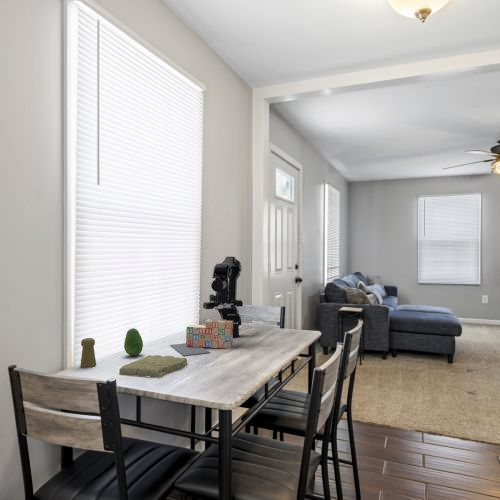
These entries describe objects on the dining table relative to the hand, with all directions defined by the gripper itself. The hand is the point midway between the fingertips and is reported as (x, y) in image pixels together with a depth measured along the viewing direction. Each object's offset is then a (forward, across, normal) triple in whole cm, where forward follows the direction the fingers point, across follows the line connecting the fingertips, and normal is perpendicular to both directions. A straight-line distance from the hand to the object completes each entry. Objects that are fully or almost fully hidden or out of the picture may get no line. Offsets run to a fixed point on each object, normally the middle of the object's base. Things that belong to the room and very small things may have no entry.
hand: (223, 322), depth 198 cm
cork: (+10, +62, +8) cm, 63 cm away
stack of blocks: (+11, +8, 0) cm, 13 cm away
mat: (+11, +18, 0) cm, 21 cm away
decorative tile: (+11, +39, +25) cm, 47 cm away
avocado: (+11, +43, 0) cm, 44 cm away
